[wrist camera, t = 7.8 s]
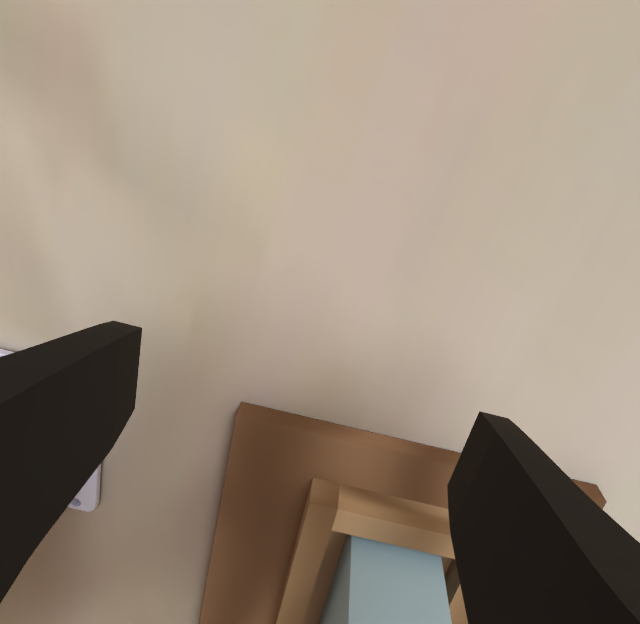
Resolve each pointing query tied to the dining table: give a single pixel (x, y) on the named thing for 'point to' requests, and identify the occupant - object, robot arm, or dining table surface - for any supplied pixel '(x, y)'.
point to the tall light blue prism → (386, 586)
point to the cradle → (321, 513)
